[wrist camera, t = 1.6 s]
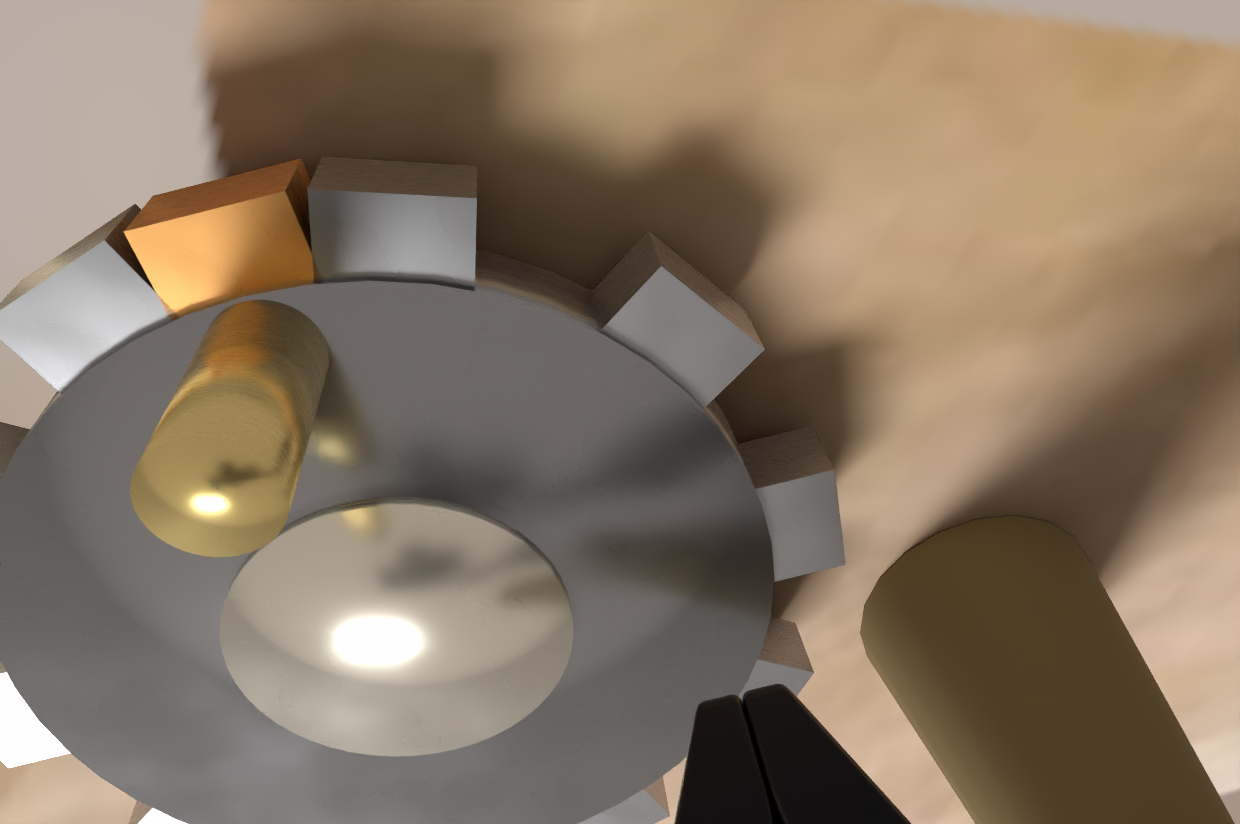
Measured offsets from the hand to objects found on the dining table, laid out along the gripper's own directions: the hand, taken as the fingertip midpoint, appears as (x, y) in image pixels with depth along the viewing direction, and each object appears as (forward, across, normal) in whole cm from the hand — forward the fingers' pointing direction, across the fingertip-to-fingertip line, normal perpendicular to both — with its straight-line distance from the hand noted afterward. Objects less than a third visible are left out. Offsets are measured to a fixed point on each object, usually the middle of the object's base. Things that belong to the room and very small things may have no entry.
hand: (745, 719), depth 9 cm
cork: (+11, -7, +12) cm, 18 cm away
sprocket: (+11, +6, +6) cm, 14 cm away
